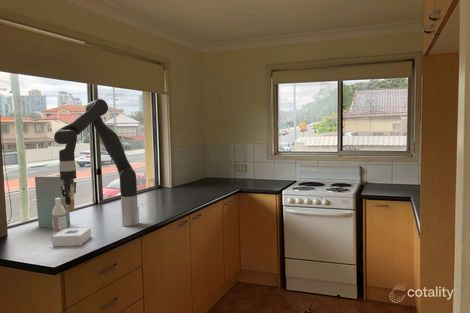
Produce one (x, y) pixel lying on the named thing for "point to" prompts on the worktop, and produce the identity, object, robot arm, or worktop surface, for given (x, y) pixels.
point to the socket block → (71, 237)
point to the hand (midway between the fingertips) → (70, 203)
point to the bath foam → (58, 217)
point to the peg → (71, 206)
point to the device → (48, 198)
